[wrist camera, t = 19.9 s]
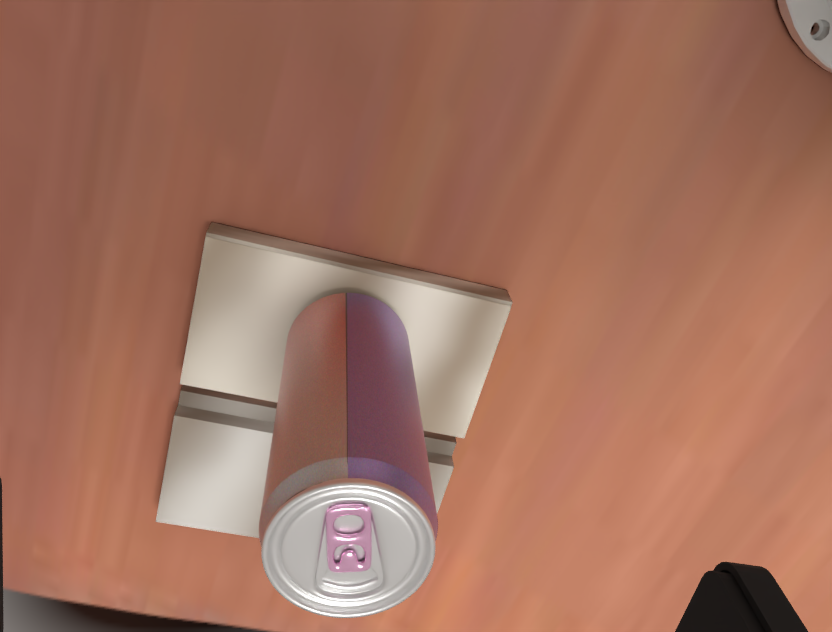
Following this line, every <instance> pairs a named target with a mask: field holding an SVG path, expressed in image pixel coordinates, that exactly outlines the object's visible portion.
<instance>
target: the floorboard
mask: <svg viewBox="0 0 832 632" xmlns="http://www.w3.org/2000/svg"><path fill="white" fill-rule="evenodd" d="M276 409H277V403H276V402H271V401H266V400H261V399H255V398H250V397H245V396H240V395H235V394H229V393H224V392H219V391H214V390H208V389H203V388H198V387H193V386H188V385H183V386H182V389H181V392H180V398H179V403H178V407H177V410H176V412H175V415H174V420H173V426H172V431H171V437H170V443H169V449H168V454H167V460H166V466H165V472H164V477H163V483H162V489H161V494H160V500H159V506H158V512H157V517H156V522H161V523H168V524H174V525H180V526H187V527H193V528H199V529H205V530H212V531H218V532H224V533H231V534H237V535H243V536H250V537H256V538H259V520H260V514H261V507H262V501H263V494H264V488H265V481H266V475H267V468H268V461H269V455H270V448H271V442H272V435H273V429H274V422H275V416H276ZM423 432H424V438H425V444H426V450H427V456H428V462H429V469H430V475H431V481H432V487H433V493H434V499H435V506H436V512H437V513H438V510H439V507H440V504H441V501H442V499H443V496H444V493H445V490H446V487H447V485H448V482H449V479H450V476H451V474H452V471H453V468H454V465H453V460H452V454H453V451H454V448H455V445H456V439H455V437H454V436H449V435H444V434H438V433H433V432H428V431H423Z"/></svg>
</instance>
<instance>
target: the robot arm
mask: <svg viewBox="0 0 832 632" xmlns="http://www.w3.org/2000/svg"><path fill="white" fill-rule="evenodd" d="M777 1H778V5H779V9H780V14H781V16H782V18H783V20H784V22H785V24H786V26H787V29H788V31H789V33H790V35H791V37H792V38H793V39H794V41H795V42H796V43H797V44H798V46H799V47H800V48H801V49H802V51H803V52H804V53H805V55H806V56H808V57H809V58H810V59H812V60H813V61H814V62H815V63H817V64H818V65H819V66H821V67H822V68H823V69H825V70H827V71H829V72H831V73H832V0H777ZM813 24H814V29H813V31H812V32H811V27H812V26H813ZM810 32H811V33H810ZM0 632H3V551H2V483H1V478H0ZM675 632H808V631H807V629H806V627H805V626H804V624H803V623H802V621H801V620H800V618H799V616H798V615H797V613H796V612H795V610H794V609H793V607H792V606H791V604H790V602H789V601H788V599H787V598H786V596H785V595H784V593H783V591H782V590H781V588H780V587H779V585H778V584H777V582H776V580H775V579H774V577H773V576H772V575H771V573H770V572H769V571H768V570H767V569H765V568H763V567H760V566H752V565H745V564H738V563H730V562H721V563H720V564H718V565H717V566H716V567H715V569H714V570H713V571H708V572H706V573H705V574H704V576H703V577H702V579H701V581H700V583H699V585H698V587H697V589H696V591H695V593H694V595H693V597H692V599H691V601H690V603H689V605H688V607H687V609H686V611H685V613H684V615H683V617H682V619H681V621H680V623H679V625H678V627H677V629H676V631H675Z"/></svg>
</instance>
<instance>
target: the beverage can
mask: <svg viewBox="0 0 832 632" xmlns="http://www.w3.org/2000/svg"><path fill="white" fill-rule="evenodd" d="M437 531H438V519H437V512H436V506H435V499H434V493H433V487H432V481H431V475H430V469H429V462H428V456H427V450H426V444H425V438H424V432H423V425H422V419H421V413H420V407H419V401H418V395H417V388H416V382H415V376H414V370H413V364H412V358H411V351H410V345H409V339H408V335H407V331H406V329H405V326H404V324H403V322H402V321H401V319H400V318H399V316H398V315H397V314H396V313H395V312H394V311H393V310H392V309H391V308H390V307H389V306H387V305H386V304H385V303H383V302H381V301H380V300H378V299H375V298H373V297H370V296H367V295H363V294H358V293H338V294H333V295H329V296H326V297H323V298H321V299H318V300H317V301H315V302H313V303H311V304H310V305H309V306H307V307H306V308H305V309H304V310H303V311H302V312H301V313H300V314H299V315H298V316H297V318H296V319H295V320H294V322H293V324H292V326H291V328H290V331H289V333H288V337H287V343H286V350H285V356H284V363H283V370H282V376H281V383H280V389H279V396H278V402H277V409H276V416H275V422H274V429H273V435H272V442H271V448H270V455H269V461H268V468H267V475H266V481H265V488H264V494H263V501H262V507H261V514H260V520H259V539H260V543H261V547H262V550H261V552H262V562H263V566H264V570H265V572H266V575H267V577H268V579H269V580H270V582H271V583H272V585H273V586H274V588H275V589H276V590H277V591H278V592H279V593H280V594H281V595H282V596H283V597H284V598H285V599H287V600H288V601H290V602H291V603H293V604H294V605H296V606H298V607H300V608H302V609H304V610H306V611H309V612H312V613H315V614H318V615H323V616H328V617H337V618H353V617H362V616H368V615H372V614H376V613H379V612H382V611H385V610H387V609H390V608H392V607H394V606H396V605H398V604H399V603H401V602H403V601H404V600H405V599H407V598H408V597H410V596H411V595H412V594H413V593H414V592H415V591H416V590H417V589H418V588H419V587H420V586H421V585H422V583H423V582H424V581H425V579H426V577H427V576H428V574H429V572H430V570H431V567H432V565H433V561H434V557H435V541H436V537H437Z"/></svg>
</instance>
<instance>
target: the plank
mask: <svg viewBox="0 0 832 632" xmlns="http://www.w3.org/2000/svg"><path fill="white" fill-rule="evenodd" d="M338 293H358V294H363V295H367V296H370V297H373V298H375V299H378V300H380V301H381V302H383V303H385V304H386V305H387V306H389V307H390V308H391V309H392V310H393V311H394V312H395V313H396V314H397V315H398V316H399V318H400V319H401V321H402V322H403V324H404V326H405V329H406V331H407V335H408V339H409V345H410V351H411V358H412V364H413V370H414V376H415V382H416V388H417V395H418V401H419V407H420V413H421V419H422V425H423V431H428V432H434V433H439V434H444V435H449V436H454V437H460V438H464V437H465V435H466V432H467V429H468V426H469V423H470V421H471V418H472V415H473V412H474V409H475V407H476V404H477V401H478V398H479V395H480V393H481V390H482V387H483V384H484V381H485V379H486V376H487V373H488V370H489V368H490V365H491V362H492V359H493V356H494V354H495V351H496V348H497V345H498V342H499V340H500V337H501V334H502V331H503V328H504V326H505V323H506V320H507V317H508V314H509V312H510V309H511V305H512V300H511V298H510V296H509V294H508V292H507V290H503V289H499V288H495V287H490V286H486V285H482V284H477V283H473V282H469V281H464V280H460V279H456V278H451V277H447V276H443V275H438V274H434V273H430V272H425V271H421V270H417V269H412V268H408V267H404V266H399V265H395V264H391V263H386V262H382V261H378V260H373V259H369V258H365V257H360V256H356V255H352V254H348V253H343V252H339V251H335V250H330V249H326V248H322V247H317V246H313V245H309V244H304V243H300V242H296V241H291V240H287V239H283V238H278V237H274V236H270V235H265V234H261V233H257V232H252V231H248V230H244V229H239V228H235V227H231V226H226V225H222V224H218V223H213V222H211V224H210V226H209V228H208V230H207V232H206V237H205V243H204V249H203V254H202V260H201V266H200V271H199V277H198V283H197V289H196V294H195V300H194V306H193V311H192V317H191V323H190V329H189V334H188V340H187V346H186V351H185V357H184V363H183V369H182V374H181V380H180V384H183V385H188V386H193V387H198V388H204V389H209V390H214V391H219V392H225V393H230V394H235V395H240V396H245V397H251V398H256V399H261V400H266V401H272V402H278V396H279V389H280V383H281V376H282V370H283V363H284V356H285V350H286V343H287V337H288V333H289V331H290V328H291V326H292V324H293V322H294V320H295V319H296V318H297V316H298V315H299V314H300V313H301V312H302V311H303V310H304V309H305V308H306V307H307V306H309V305H310V304H311V303H313V302H315V301H317V300H318V299H321V298H323V297H326V296H329V295H333V294H338Z"/></svg>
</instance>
